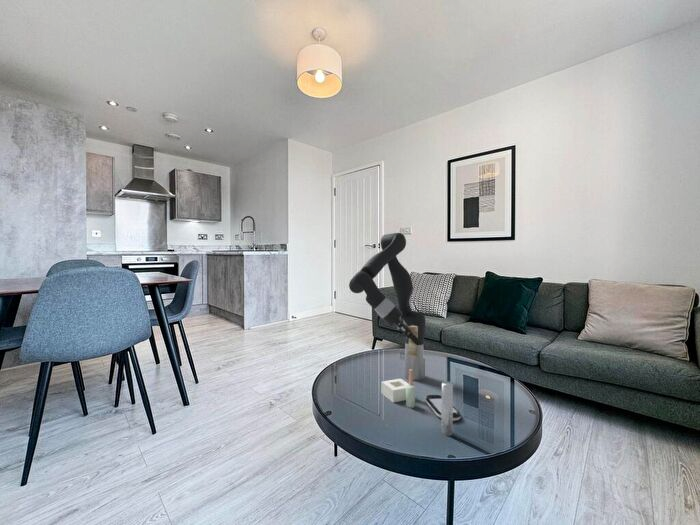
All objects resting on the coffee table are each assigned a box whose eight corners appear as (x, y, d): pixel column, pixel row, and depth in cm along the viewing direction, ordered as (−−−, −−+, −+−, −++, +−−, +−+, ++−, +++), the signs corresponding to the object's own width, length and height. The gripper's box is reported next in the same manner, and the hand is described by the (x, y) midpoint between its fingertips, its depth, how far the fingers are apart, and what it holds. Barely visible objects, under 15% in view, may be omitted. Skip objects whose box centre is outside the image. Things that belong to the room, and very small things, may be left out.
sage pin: (411, 403, 119) (411, 384, 120) (416, 406, 116) (417, 387, 116) (404, 404, 118) (404, 385, 118) (409, 408, 115) (409, 389, 115)
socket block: (400, 389, 133) (400, 363, 133) (413, 398, 124) (413, 370, 124) (381, 393, 129) (381, 365, 129) (393, 402, 120) (393, 373, 120)
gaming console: (422, 400, 123) (422, 394, 123) (442, 399, 124) (442, 393, 124) (441, 424, 104) (441, 417, 104) (465, 423, 105) (465, 415, 105)
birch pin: (414, 354, 119) (414, 325, 120) (419, 357, 116) (419, 327, 116) (406, 355, 118) (406, 326, 118) (412, 358, 115) (412, 327, 115)
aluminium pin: (447, 428, 100) (447, 380, 101) (455, 434, 97) (455, 384, 97) (439, 431, 99) (439, 382, 99) (446, 436, 95) (446, 386, 96)
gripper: (394, 307, 111) (427, 340, 110) (394, 302, 125) (423, 332, 124) (381, 320, 112) (413, 353, 110) (381, 314, 126) (410, 344, 124)
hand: (418, 342), depth 117 cm, fingers closed on birch pin, 3 cm apart
